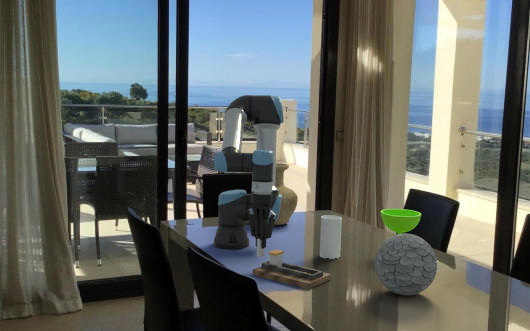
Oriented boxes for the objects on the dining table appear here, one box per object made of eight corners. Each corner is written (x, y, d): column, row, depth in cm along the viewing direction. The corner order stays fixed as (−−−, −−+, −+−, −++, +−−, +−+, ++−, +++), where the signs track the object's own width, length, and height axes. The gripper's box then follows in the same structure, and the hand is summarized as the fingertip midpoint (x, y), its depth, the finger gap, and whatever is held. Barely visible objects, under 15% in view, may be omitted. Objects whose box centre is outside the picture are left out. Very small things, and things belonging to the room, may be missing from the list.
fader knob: (267, 267, 209) (268, 252, 209) (275, 264, 213) (276, 249, 213) (275, 269, 207) (276, 253, 207) (283, 266, 211) (283, 251, 211)
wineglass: (392, 249, 249) (394, 207, 247) (426, 256, 237) (428, 213, 235) (370, 255, 238) (372, 212, 235) (404, 264, 226) (407, 218, 224)
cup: (339, 259, 230) (340, 219, 228) (318, 258, 232) (320, 218, 230) (340, 254, 238) (342, 215, 236) (320, 252, 240) (322, 214, 238)
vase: (297, 229, 281) (299, 167, 277) (251, 228, 281) (252, 166, 278) (296, 219, 303) (297, 162, 300) (252, 218, 304) (254, 161, 300)
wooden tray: (252, 274, 208) (252, 264, 208) (275, 266, 219) (276, 256, 219) (309, 289, 194) (309, 278, 193) (330, 279, 205) (331, 269, 204)
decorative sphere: (397, 307, 179) (400, 243, 176) (361, 287, 197) (364, 229, 194) (448, 300, 187) (452, 238, 184) (409, 281, 205) (412, 225, 202)
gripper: (241, 191, 212) (240, 255, 215) (270, 196, 204) (268, 261, 207) (254, 189, 218) (253, 251, 221) (282, 193, 210) (281, 257, 213)
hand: (260, 256), depth 214 cm, fingers closed
